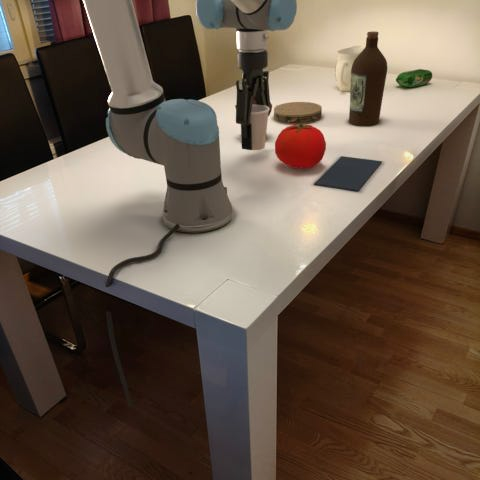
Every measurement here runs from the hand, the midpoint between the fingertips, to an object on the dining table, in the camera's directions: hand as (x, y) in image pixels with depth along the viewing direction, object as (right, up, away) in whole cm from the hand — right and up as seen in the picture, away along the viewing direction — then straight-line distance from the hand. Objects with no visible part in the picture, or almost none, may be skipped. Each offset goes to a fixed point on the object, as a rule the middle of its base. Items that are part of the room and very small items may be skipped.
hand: (254, 144), depth 133 cm
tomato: (+12, -8, -4) cm, 15 cm away
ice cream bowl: (+1, +7, +16) cm, 18 cm away
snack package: (+63, +43, +56) cm, 95 cm away
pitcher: (+38, +41, +56) cm, 80 cm away
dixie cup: (0, -1, +1) cm, 1 cm away
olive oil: (+36, +15, +23) cm, 45 cm away
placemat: (+24, -11, -10) cm, 28 cm away
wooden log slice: (+15, +20, +31) cm, 40 cm away
